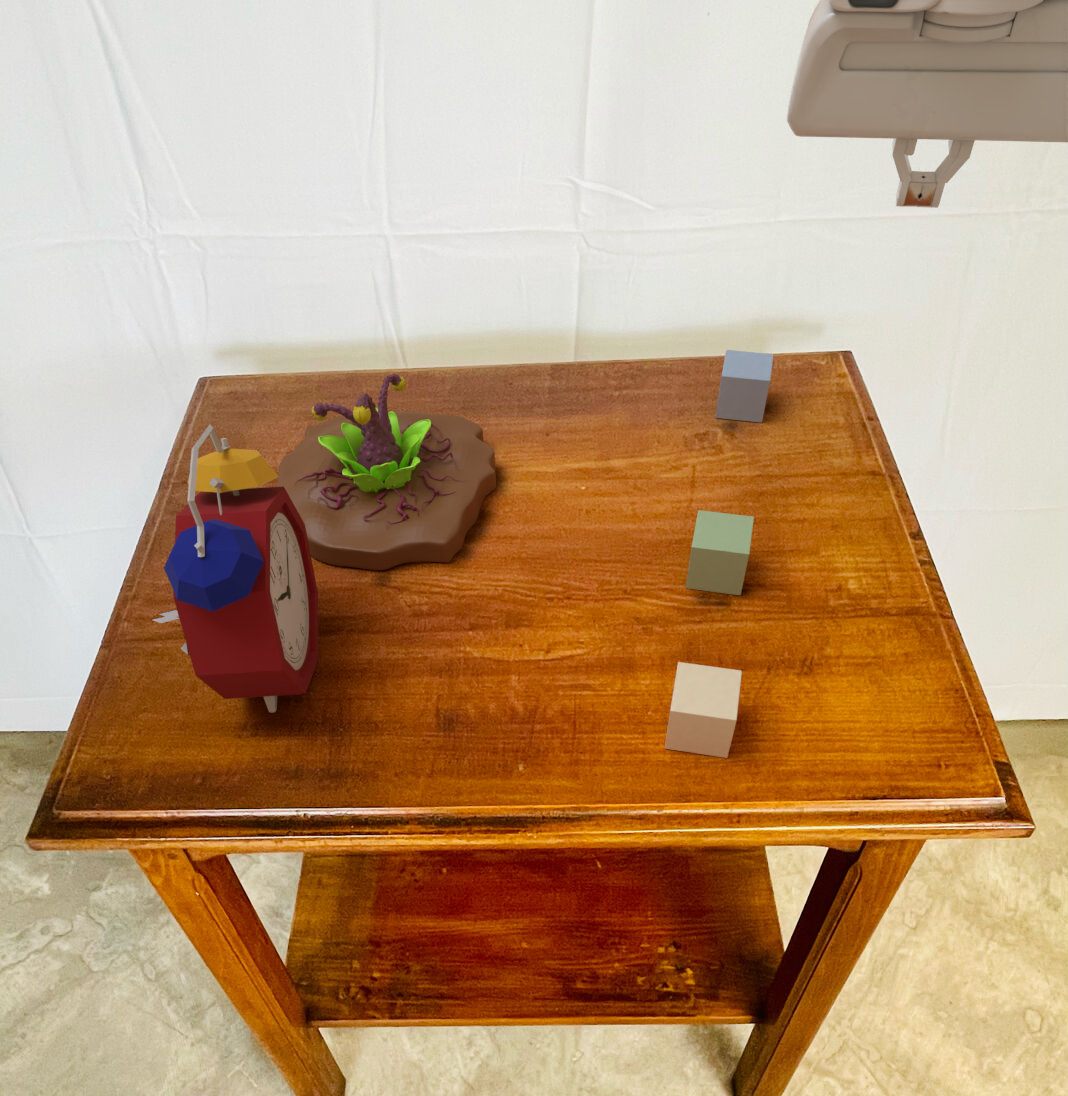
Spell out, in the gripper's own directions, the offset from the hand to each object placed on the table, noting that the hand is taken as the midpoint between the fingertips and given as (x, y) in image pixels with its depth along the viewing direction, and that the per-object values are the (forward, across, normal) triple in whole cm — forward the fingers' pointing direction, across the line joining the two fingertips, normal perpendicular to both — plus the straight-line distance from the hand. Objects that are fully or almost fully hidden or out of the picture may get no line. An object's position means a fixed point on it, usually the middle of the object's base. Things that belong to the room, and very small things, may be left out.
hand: (916, 203), depth 65 cm
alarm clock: (+21, +44, +34) cm, 59 cm away
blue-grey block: (+22, +11, -6) cm, 25 cm away
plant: (+21, +41, +13) cm, 48 cm away
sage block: (+22, +10, +17) cm, 30 cm away
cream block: (+22, +10, +34) cm, 41 cm away
